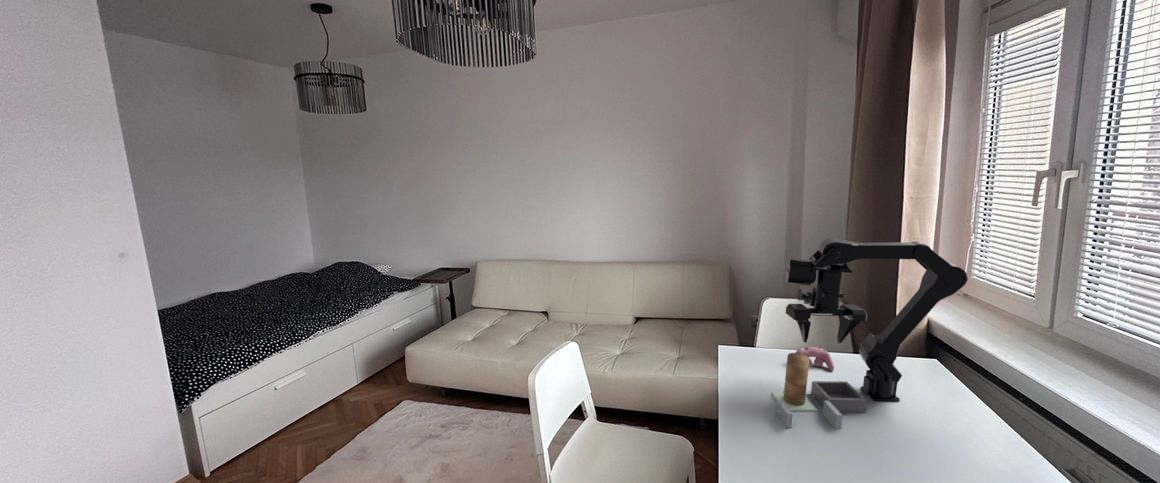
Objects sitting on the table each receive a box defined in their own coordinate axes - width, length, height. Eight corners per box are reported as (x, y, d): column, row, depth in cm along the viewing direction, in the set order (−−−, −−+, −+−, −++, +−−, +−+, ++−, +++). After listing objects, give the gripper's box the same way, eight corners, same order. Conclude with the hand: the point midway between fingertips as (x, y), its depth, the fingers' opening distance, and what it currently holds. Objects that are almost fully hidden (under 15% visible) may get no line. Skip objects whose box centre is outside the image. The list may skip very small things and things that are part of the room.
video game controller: (828, 371, 132) (825, 347, 134) (836, 371, 127) (832, 346, 129) (795, 370, 133) (792, 346, 134) (801, 370, 128) (798, 346, 130)
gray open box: (845, 393, 116) (846, 381, 116) (865, 412, 108) (866, 400, 107) (810, 393, 117) (811, 381, 116) (827, 412, 108) (829, 399, 107)
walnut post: (804, 398, 114) (809, 355, 111) (804, 407, 109) (809, 363, 107) (783, 393, 116) (788, 351, 114) (782, 402, 112) (787, 359, 109)
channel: (827, 413, 108) (829, 400, 107) (840, 428, 102) (842, 414, 101) (776, 413, 108) (777, 400, 108) (786, 427, 102) (787, 414, 102)
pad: (802, 394, 117) (802, 392, 116) (816, 411, 109) (816, 409, 109) (771, 393, 117) (771, 392, 117) (783, 410, 109) (783, 409, 109)
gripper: (846, 278, 122) (839, 331, 125) (779, 278, 123) (774, 330, 126) (872, 290, 111) (863, 347, 114) (798, 290, 112) (792, 346, 115)
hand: (821, 342), depth 117 cm, fingers open, 9 cm apart
